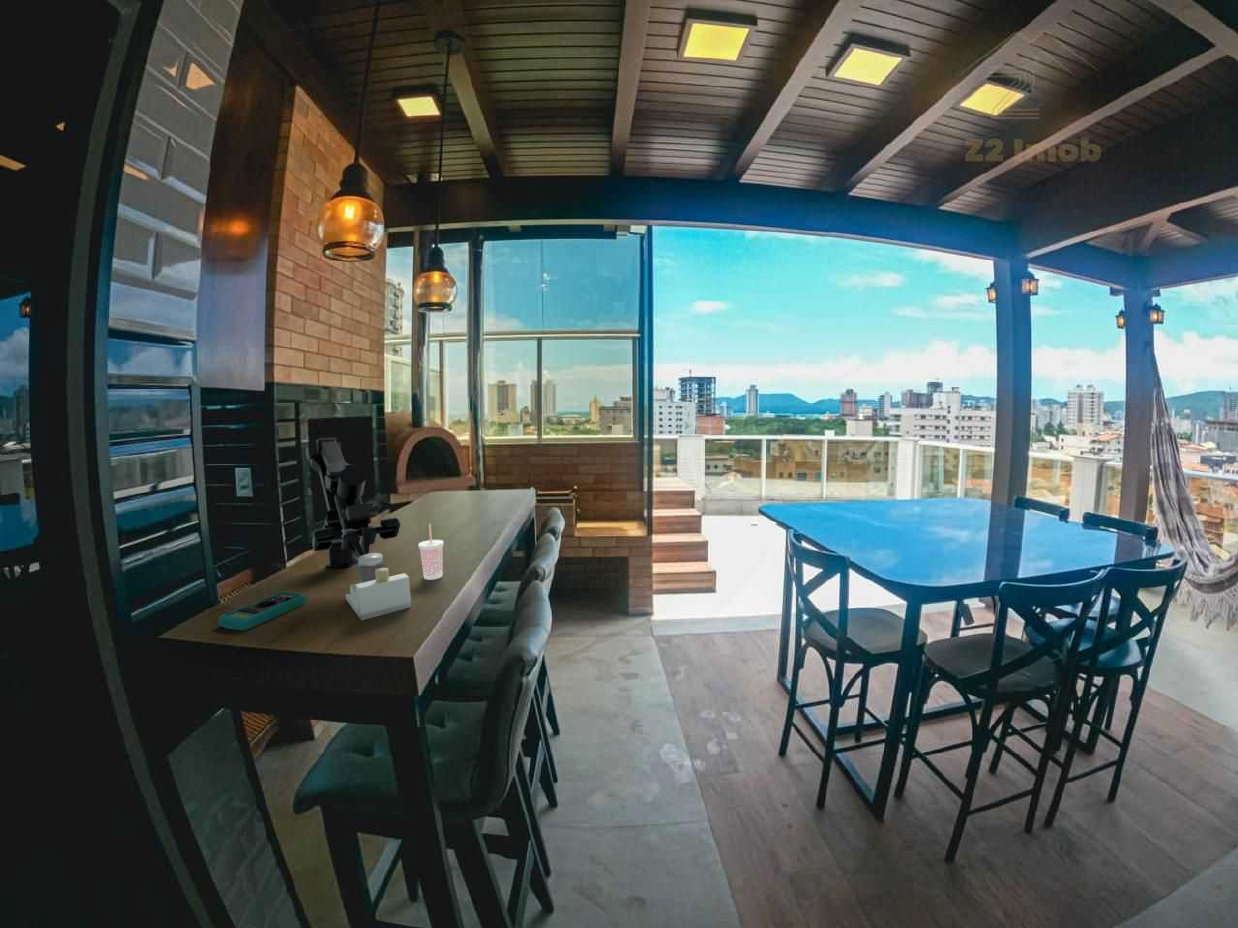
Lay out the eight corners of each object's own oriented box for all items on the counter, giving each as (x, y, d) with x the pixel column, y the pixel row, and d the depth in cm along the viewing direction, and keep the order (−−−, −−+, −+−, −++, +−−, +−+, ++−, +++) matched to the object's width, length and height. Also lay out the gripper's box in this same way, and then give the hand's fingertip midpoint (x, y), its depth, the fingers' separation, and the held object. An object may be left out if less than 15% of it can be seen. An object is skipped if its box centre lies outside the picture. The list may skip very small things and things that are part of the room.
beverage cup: (434, 570, 132) (431, 520, 130) (450, 574, 129) (447, 522, 127) (415, 578, 127) (411, 525, 125) (431, 582, 124) (427, 528, 122)
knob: (358, 591, 114) (355, 556, 113) (381, 586, 117) (379, 551, 116) (364, 598, 110) (361, 561, 109) (387, 592, 114) (385, 556, 112)
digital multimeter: (309, 604, 113) (308, 591, 112) (244, 633, 98) (242, 619, 98) (285, 600, 115) (283, 588, 114) (217, 629, 101) (215, 615, 100)
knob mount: (346, 599, 114) (342, 560, 112) (392, 588, 120) (389, 551, 119) (361, 620, 103) (357, 577, 101) (411, 607, 109) (408, 566, 108)
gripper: (309, 495, 113) (323, 553, 106) (395, 485, 125) (412, 537, 118) (307, 523, 120) (319, 579, 113) (388, 511, 132) (404, 561, 125)
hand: (365, 562), depth 117 cm, fingers closed
